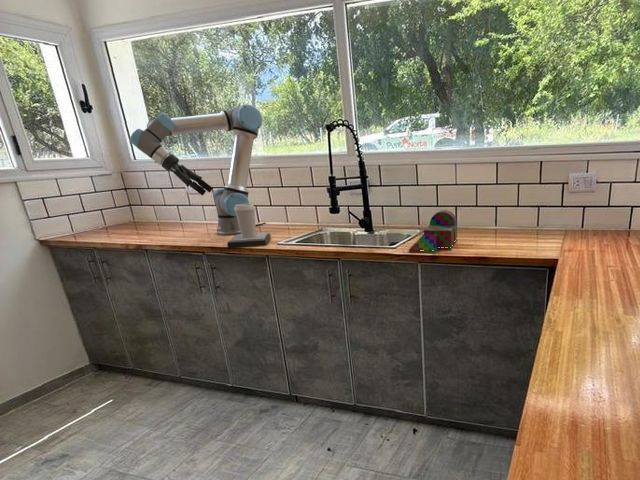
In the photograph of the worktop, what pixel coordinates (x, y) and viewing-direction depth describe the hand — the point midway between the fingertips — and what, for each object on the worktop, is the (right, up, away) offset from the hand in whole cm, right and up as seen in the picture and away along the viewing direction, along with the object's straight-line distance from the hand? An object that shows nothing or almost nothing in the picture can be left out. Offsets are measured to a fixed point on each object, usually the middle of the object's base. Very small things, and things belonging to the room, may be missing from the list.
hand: (208, 191), depth 212 cm
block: (+107, -28, -13) cm, 111 cm away
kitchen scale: (+18, -23, +5) cm, 30 cm away
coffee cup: (+18, -21, +4) cm, 28 cm away
